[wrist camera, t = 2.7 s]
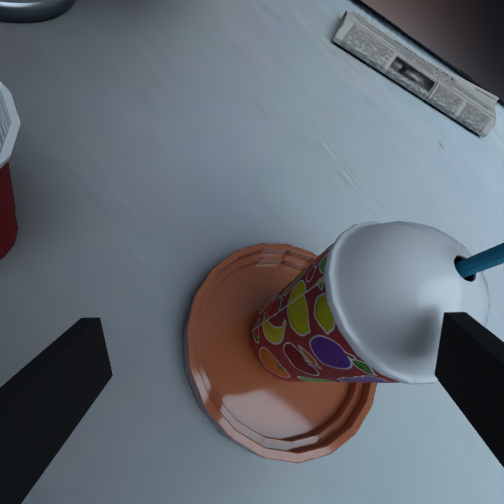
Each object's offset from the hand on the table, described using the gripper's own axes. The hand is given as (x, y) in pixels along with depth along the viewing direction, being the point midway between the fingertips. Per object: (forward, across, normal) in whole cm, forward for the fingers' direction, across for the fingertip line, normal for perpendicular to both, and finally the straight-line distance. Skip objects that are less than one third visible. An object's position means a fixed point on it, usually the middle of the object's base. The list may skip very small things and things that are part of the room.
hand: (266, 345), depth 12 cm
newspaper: (+58, +28, +20) cm, 68 cm away
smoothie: (+13, +1, -9) cm, 16 cm away
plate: (+13, +1, -9) cm, 16 cm away
